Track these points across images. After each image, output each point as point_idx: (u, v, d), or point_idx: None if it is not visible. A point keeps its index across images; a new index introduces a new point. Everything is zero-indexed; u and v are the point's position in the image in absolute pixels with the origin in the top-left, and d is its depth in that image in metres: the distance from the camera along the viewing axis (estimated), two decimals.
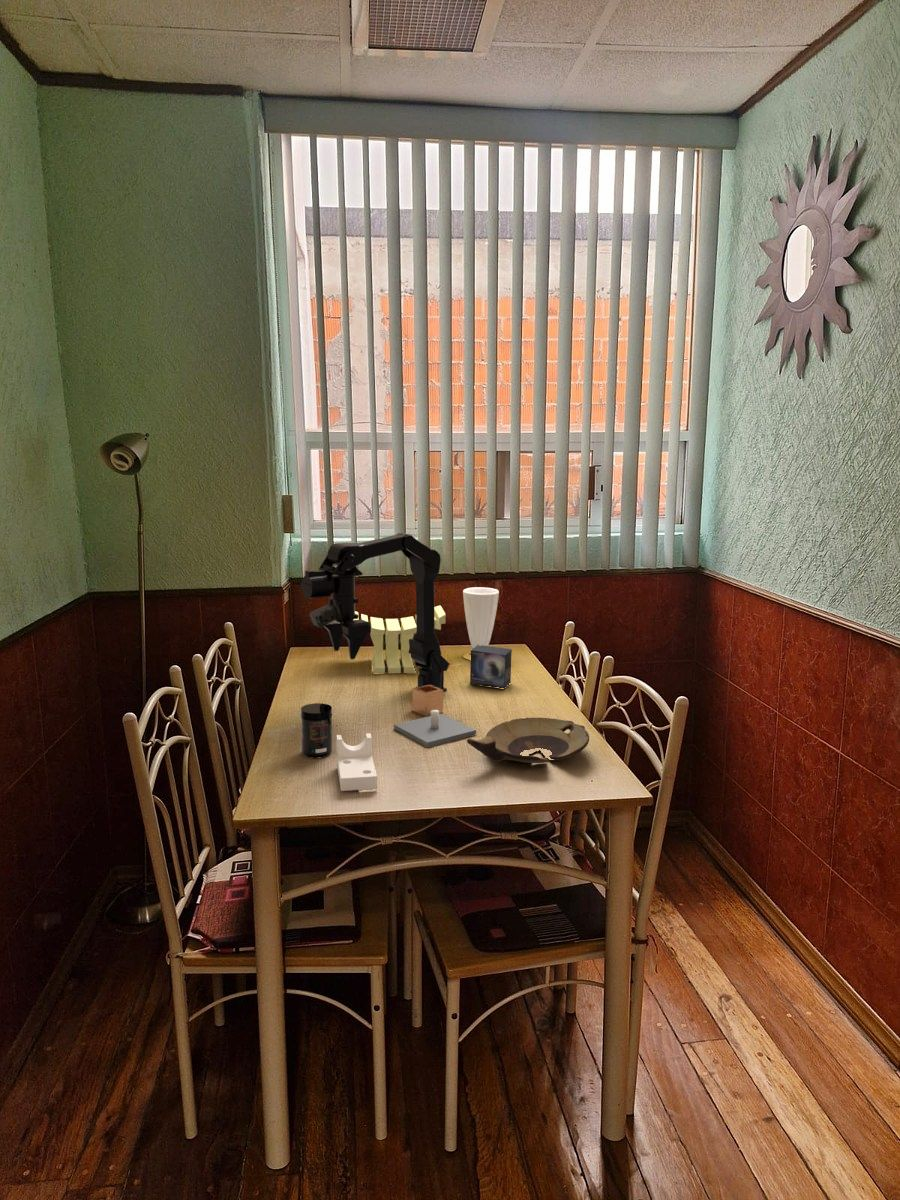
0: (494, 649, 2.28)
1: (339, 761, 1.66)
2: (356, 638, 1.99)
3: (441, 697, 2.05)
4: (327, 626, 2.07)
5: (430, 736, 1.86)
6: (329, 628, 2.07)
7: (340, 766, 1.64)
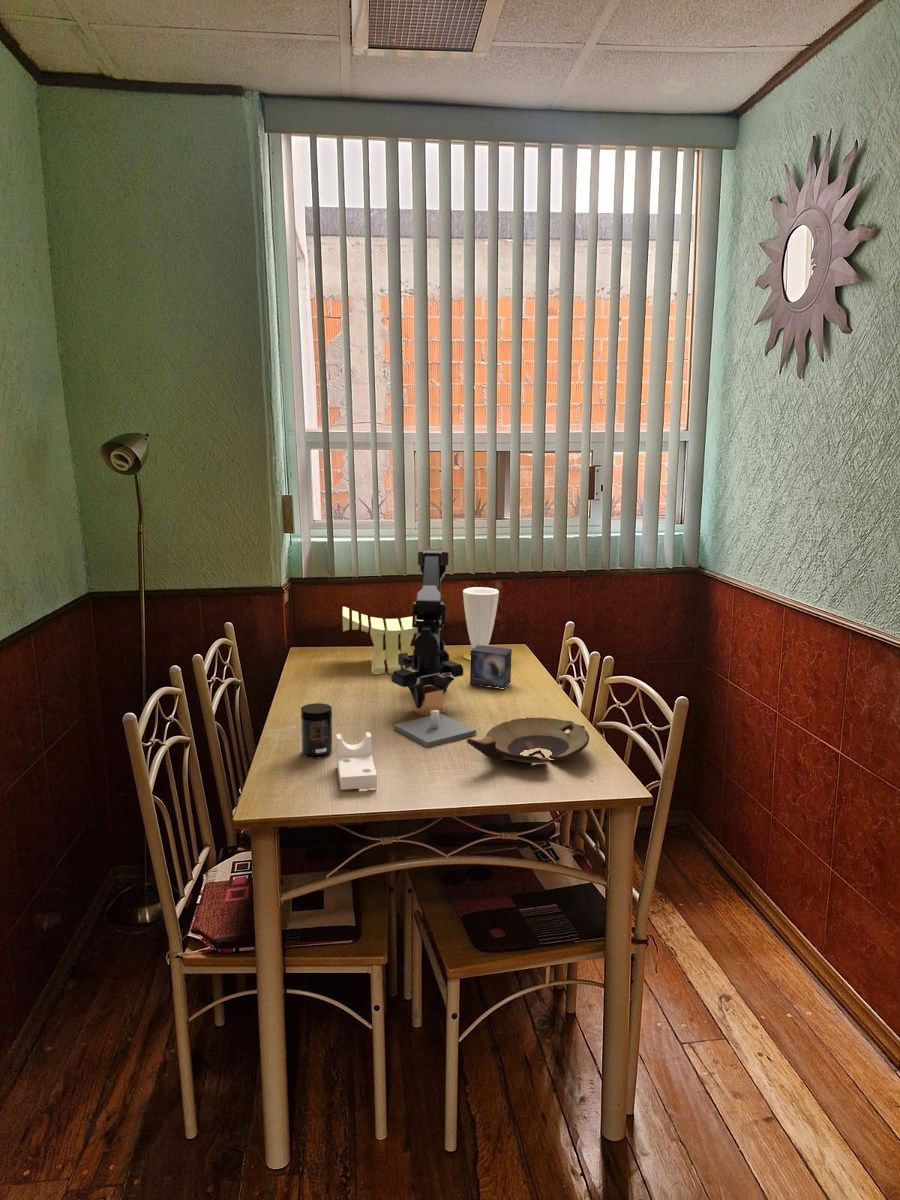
0: (494, 649, 2.28)
1: (339, 760, 1.67)
2: (415, 688, 2.03)
3: (441, 697, 2.05)
4: (434, 676, 2.09)
5: (430, 736, 1.86)
6: (434, 679, 2.09)
7: (340, 765, 1.64)
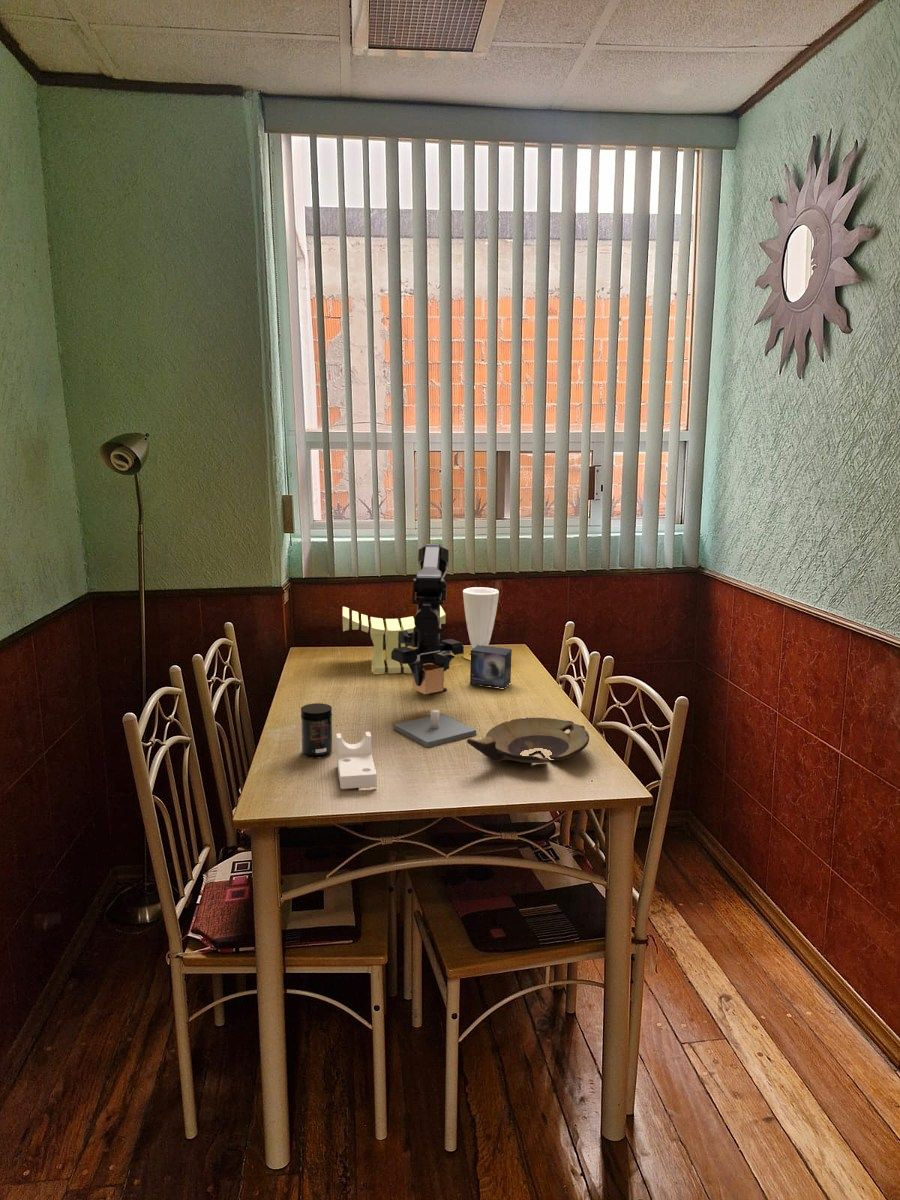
0: (494, 649, 2.28)
1: (339, 759, 1.67)
2: (415, 666, 2.01)
3: (441, 675, 2.04)
4: (434, 654, 2.08)
5: (430, 736, 1.86)
6: (435, 657, 2.07)
7: (340, 764, 1.64)
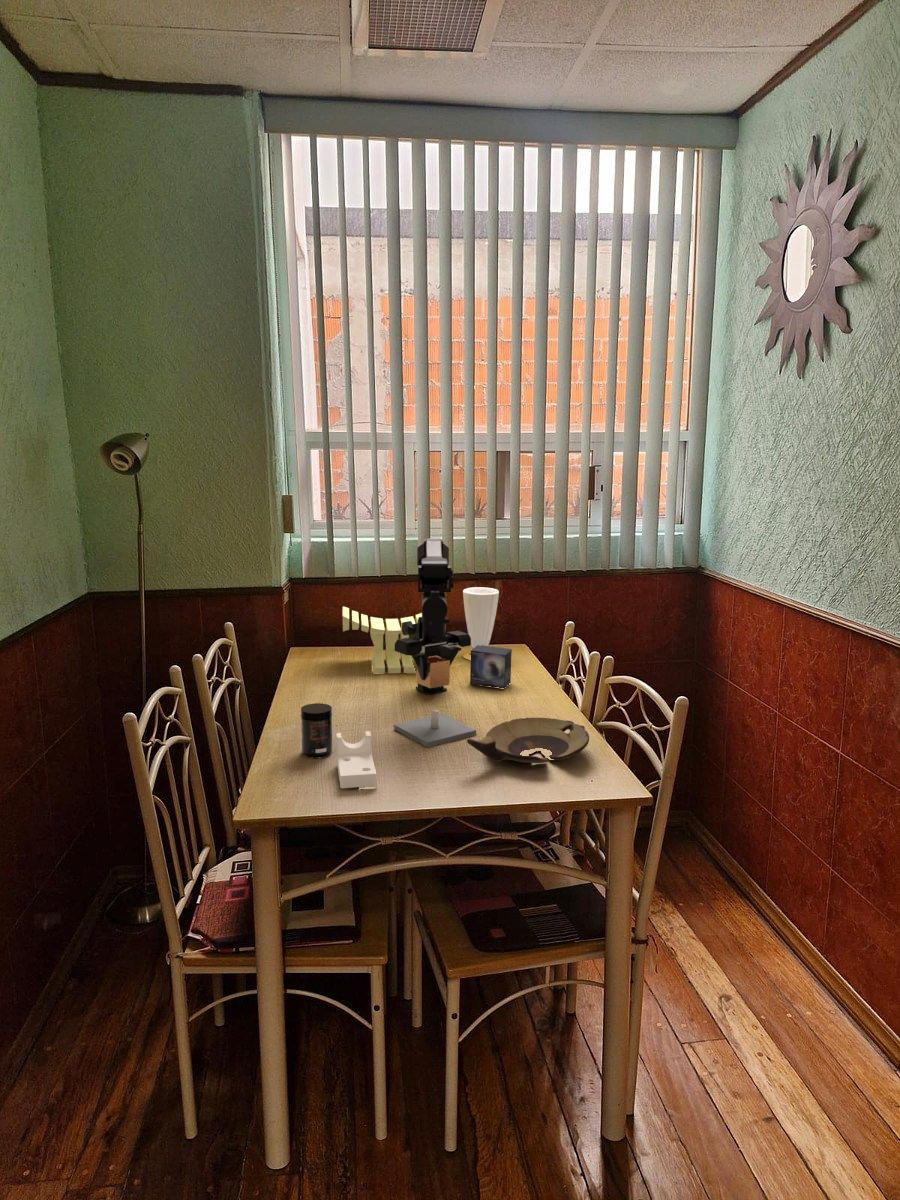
0: (494, 649, 2.28)
1: (339, 759, 1.67)
2: (420, 658, 1.90)
3: (447, 668, 1.92)
4: (439, 647, 1.96)
5: (430, 736, 1.86)
6: (440, 650, 1.96)
7: (340, 764, 1.65)
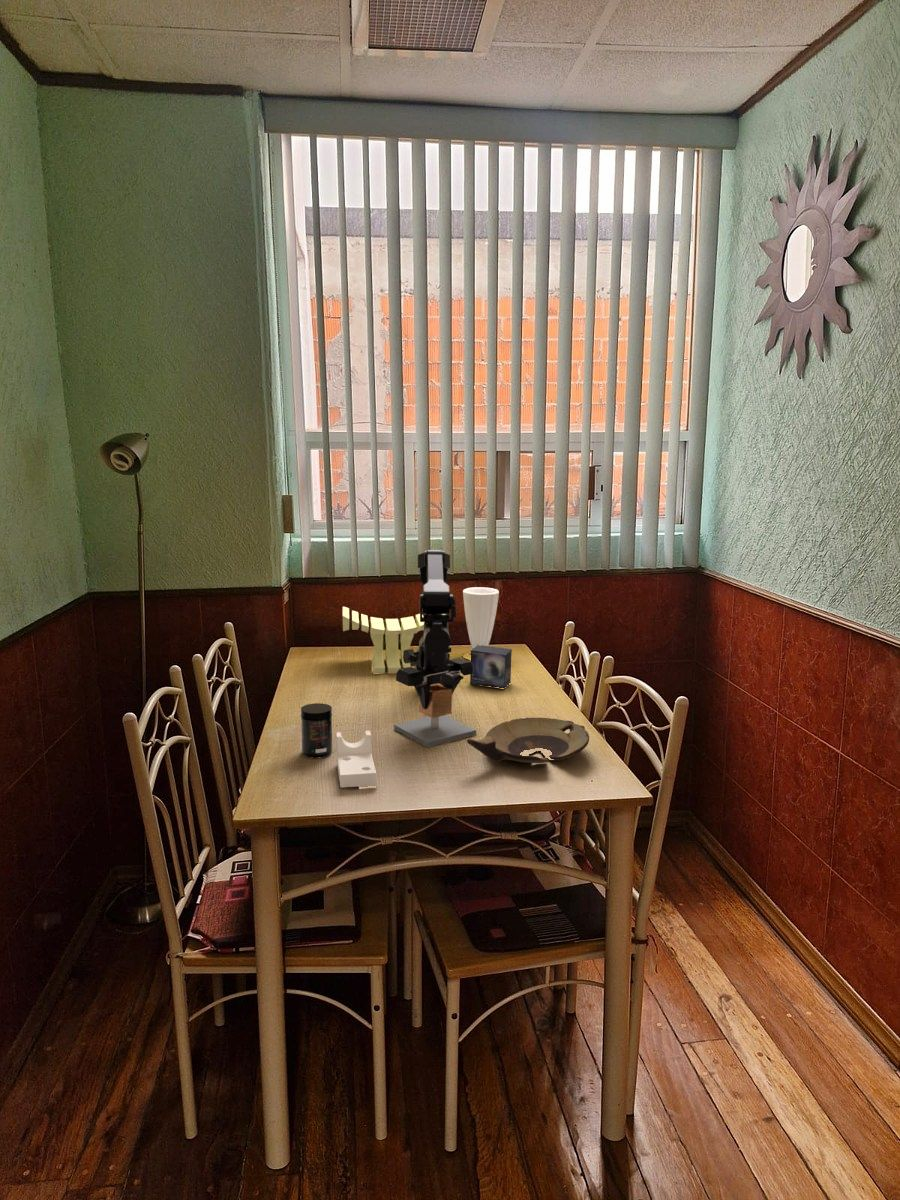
0: (494, 649, 2.28)
1: (339, 758, 1.68)
2: (422, 688, 1.87)
3: (450, 697, 1.90)
4: (441, 675, 1.94)
5: (430, 736, 1.86)
6: (442, 678, 1.93)
7: (340, 763, 1.65)
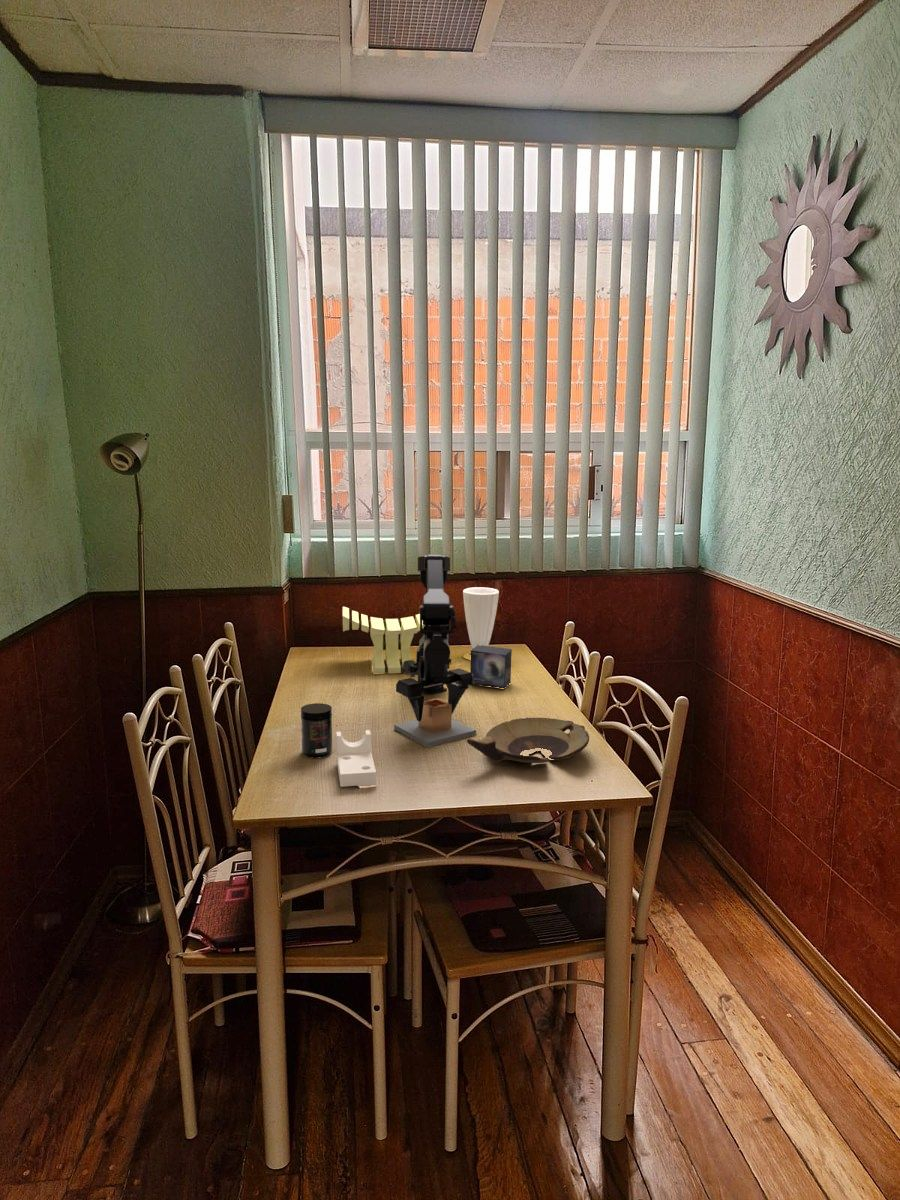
0: (494, 649, 2.28)
1: (339, 757, 1.68)
2: (416, 700, 1.87)
3: (449, 712, 1.91)
4: (447, 684, 1.95)
5: (430, 736, 1.86)
6: (448, 687, 1.95)
7: (340, 762, 1.65)
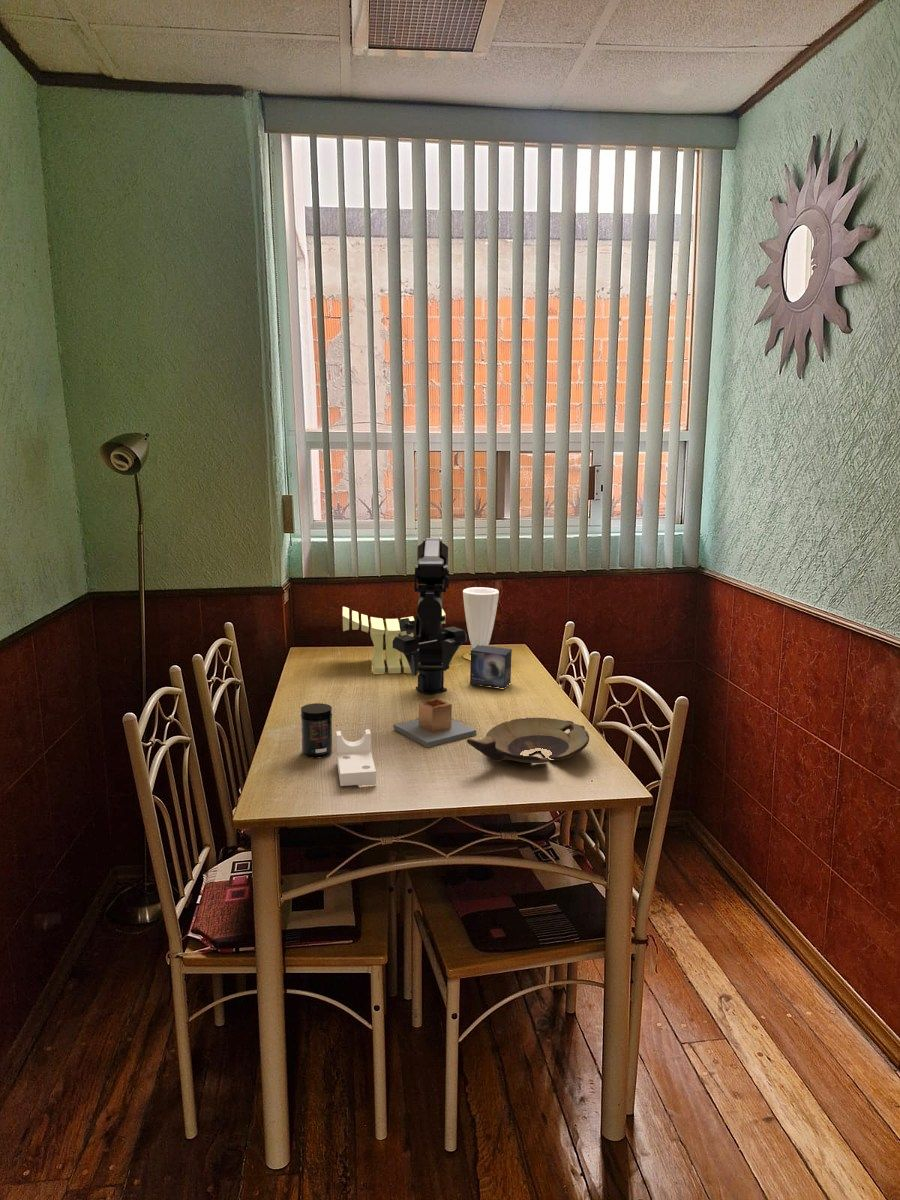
0: (494, 649, 2.28)
1: (339, 757, 1.68)
2: (411, 655, 1.96)
3: (449, 712, 1.91)
4: (441, 641, 2.04)
5: (430, 736, 1.86)
6: (442, 644, 2.04)
7: (340, 762, 1.66)
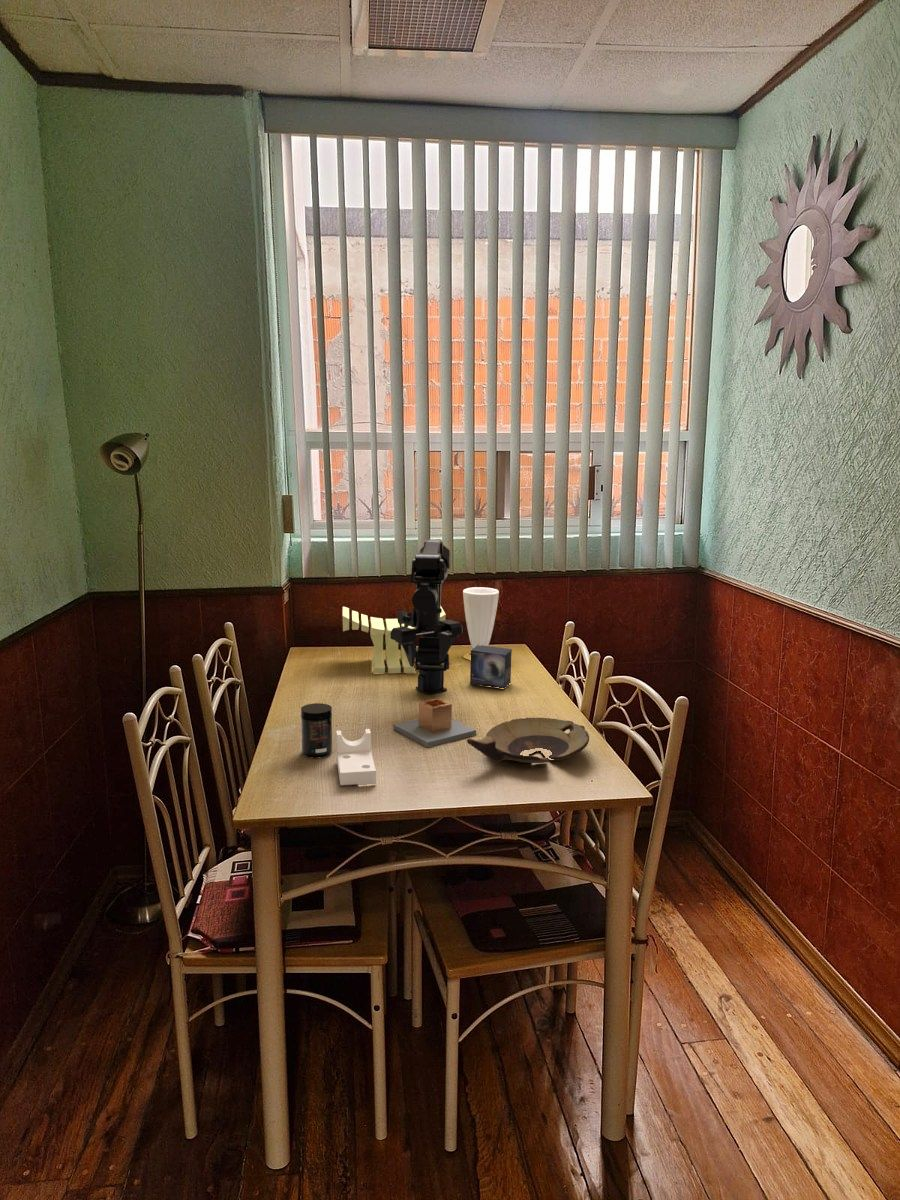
0: (494, 649, 2.28)
1: (339, 756, 1.69)
2: (409, 646, 2.02)
3: (449, 712, 1.91)
4: (438, 634, 2.10)
5: (430, 736, 1.86)
6: (439, 637, 2.10)
7: (340, 761, 1.66)
